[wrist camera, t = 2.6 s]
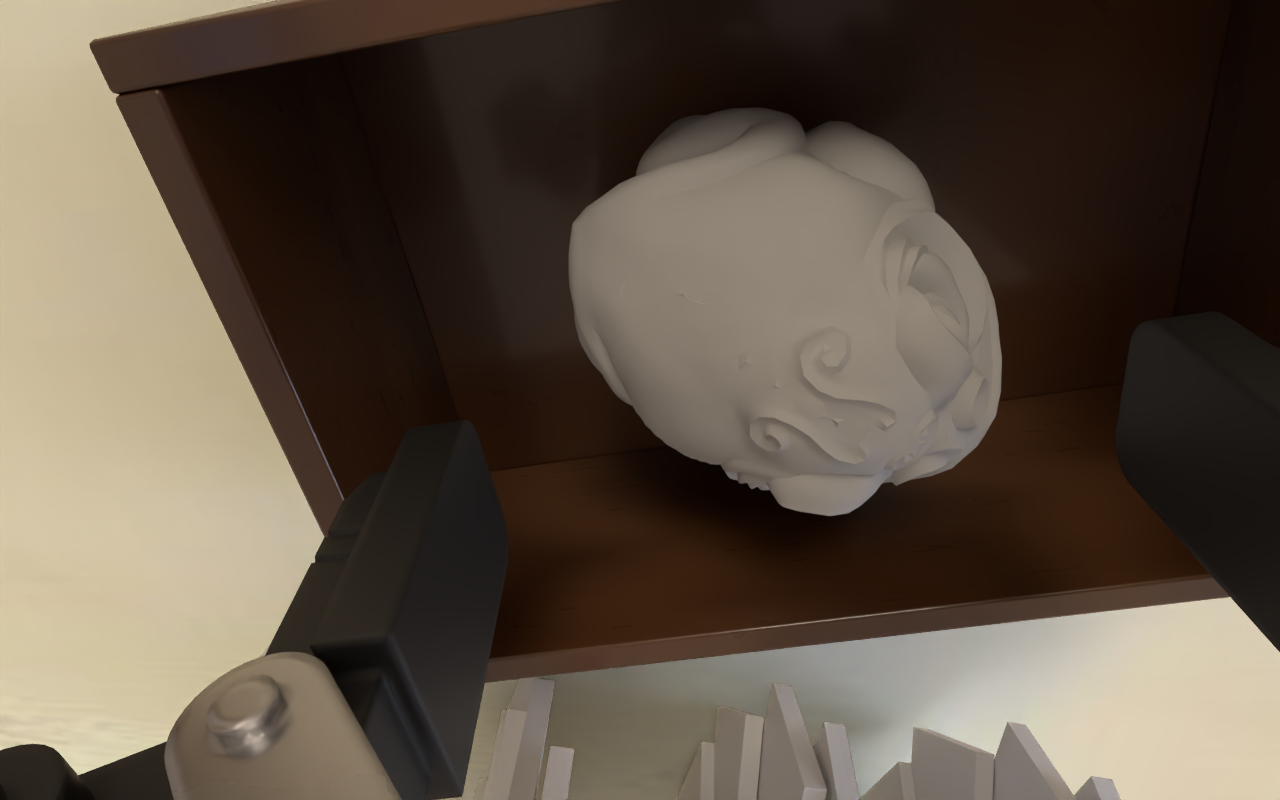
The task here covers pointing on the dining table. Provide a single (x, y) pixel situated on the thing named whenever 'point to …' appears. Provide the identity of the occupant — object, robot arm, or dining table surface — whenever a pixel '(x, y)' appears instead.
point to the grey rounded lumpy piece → (788, 308)
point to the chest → (610, 153)
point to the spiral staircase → (788, 760)
